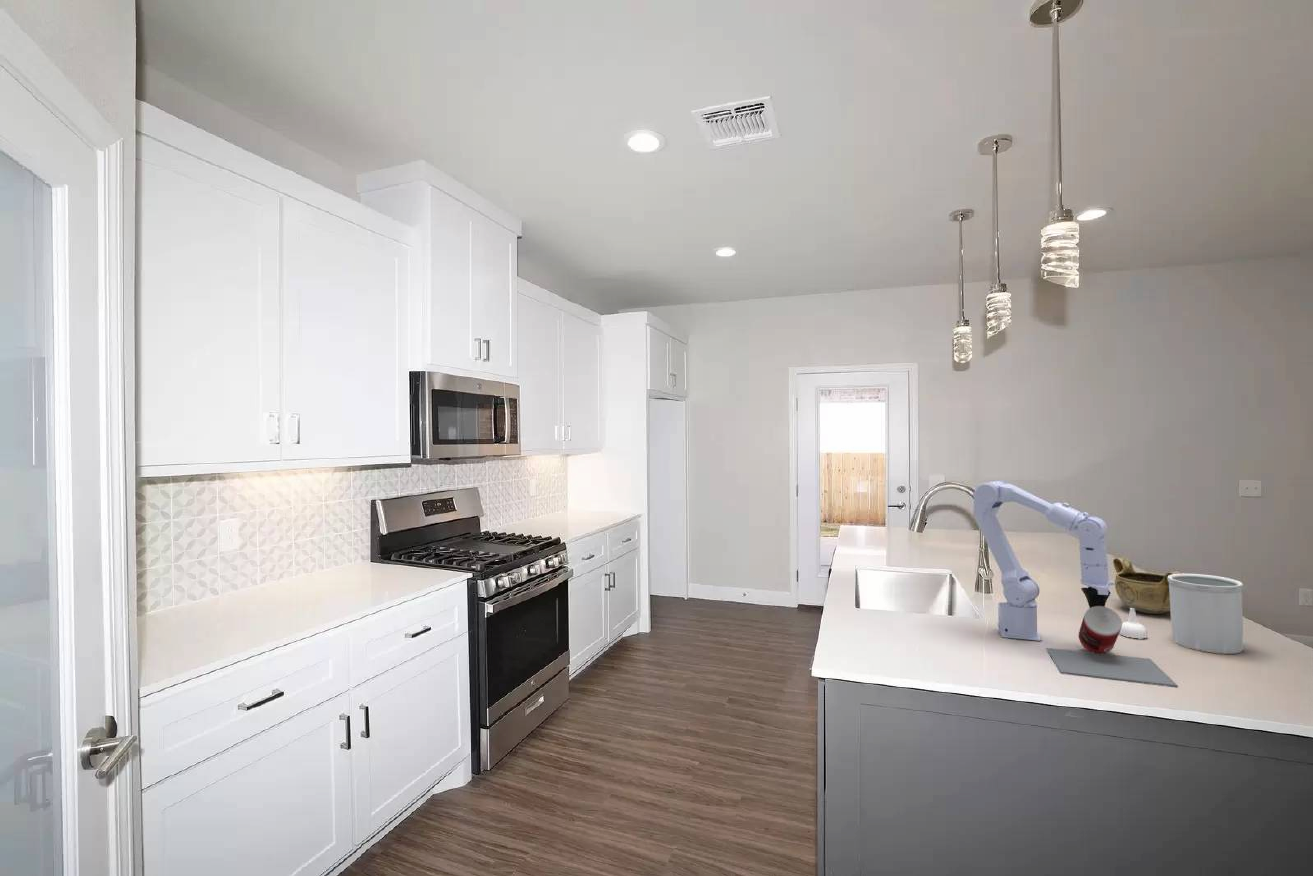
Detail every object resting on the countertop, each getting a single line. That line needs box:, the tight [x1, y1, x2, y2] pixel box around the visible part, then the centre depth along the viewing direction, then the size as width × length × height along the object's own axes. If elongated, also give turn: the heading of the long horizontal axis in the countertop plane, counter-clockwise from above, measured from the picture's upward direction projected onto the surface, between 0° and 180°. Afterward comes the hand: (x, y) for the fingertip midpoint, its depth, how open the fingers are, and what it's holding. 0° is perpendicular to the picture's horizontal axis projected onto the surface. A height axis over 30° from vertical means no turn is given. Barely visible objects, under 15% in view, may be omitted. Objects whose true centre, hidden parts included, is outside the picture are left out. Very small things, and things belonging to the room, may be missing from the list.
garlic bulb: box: [1119, 607, 1148, 640], centre depth 166 cm, size 6×6×8 cm
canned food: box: [1077, 606, 1123, 654], centre depth 152 cm, size 8×8×11 cm
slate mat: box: [1045, 647, 1179, 688], centre depth 145 cm, size 22×17×1 cm
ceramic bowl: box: [1112, 557, 1184, 615], centre depth 188 cm, size 22×17×15 cm
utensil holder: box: [1168, 573, 1244, 655], centre depth 158 cm, size 15×15×18 cm
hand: (1097, 616), depth 154 cm, fingers closed, pressing on canned food
